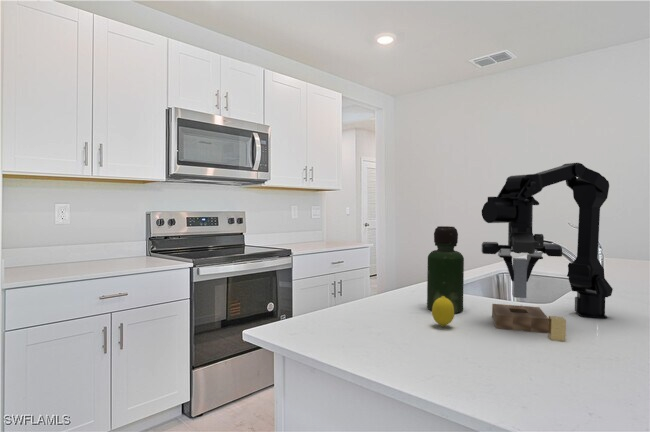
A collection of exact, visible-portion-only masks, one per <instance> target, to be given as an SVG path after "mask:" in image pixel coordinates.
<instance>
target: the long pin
mask: <svg viewBox="0 0 650 432" xmlns="http://www.w3.org/2000/svg"><path fill="white" fill-rule="evenodd" d="M512 265H513V274H514V280H513V281H512V280H511V282H512V287H511V288H512V289H511V290H512V291H511V292H512V293H511V296H512V297H513V298H519V299H527V284H528V282H527V258H521V257H520V258H519V257H512Z"/></svg>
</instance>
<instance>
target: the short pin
mask: <svg viewBox="0 0 650 432" xmlns="http://www.w3.org/2000/svg"><path fill="white" fill-rule="evenodd" d="M548 319H549V322H548V333H547V335H548V338H549V340H550V341H555V340H557V342H566V340H567V339H566V336H567V335H566V331H567V330H566V329H567V328H566V327H567V320H566V318H565V317H563V316H560V315H559V316H557V315H548Z"/></svg>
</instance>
